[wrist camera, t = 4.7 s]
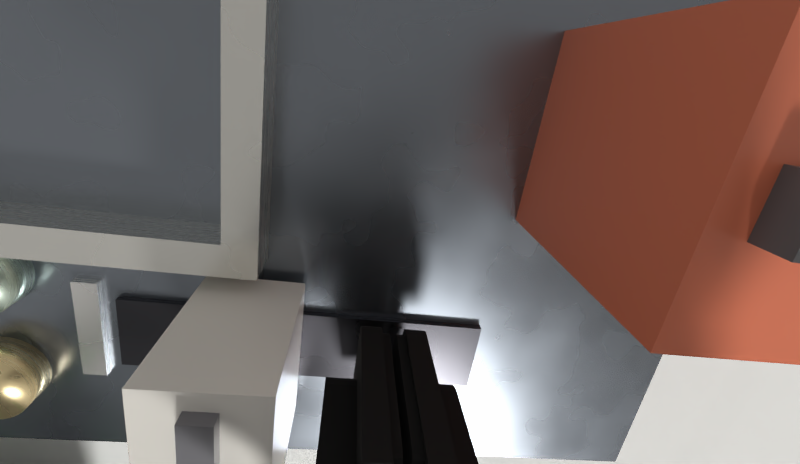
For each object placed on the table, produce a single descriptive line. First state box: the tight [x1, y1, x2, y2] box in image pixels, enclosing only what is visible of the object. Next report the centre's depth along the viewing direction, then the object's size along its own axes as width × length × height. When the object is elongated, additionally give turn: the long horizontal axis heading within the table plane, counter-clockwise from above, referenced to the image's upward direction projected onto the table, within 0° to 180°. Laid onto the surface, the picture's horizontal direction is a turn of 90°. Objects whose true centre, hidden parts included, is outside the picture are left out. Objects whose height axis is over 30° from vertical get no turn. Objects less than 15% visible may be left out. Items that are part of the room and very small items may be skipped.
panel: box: [0, 0, 728, 461], centre depth 11 cm, size 21×15×3 cm
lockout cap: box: [516, 0, 800, 365], centre depth 8 cm, size 4×4×6 cm
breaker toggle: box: [122, 276, 305, 464], centre depth 9 cm, size 2×4×4 cm, turn 171°
